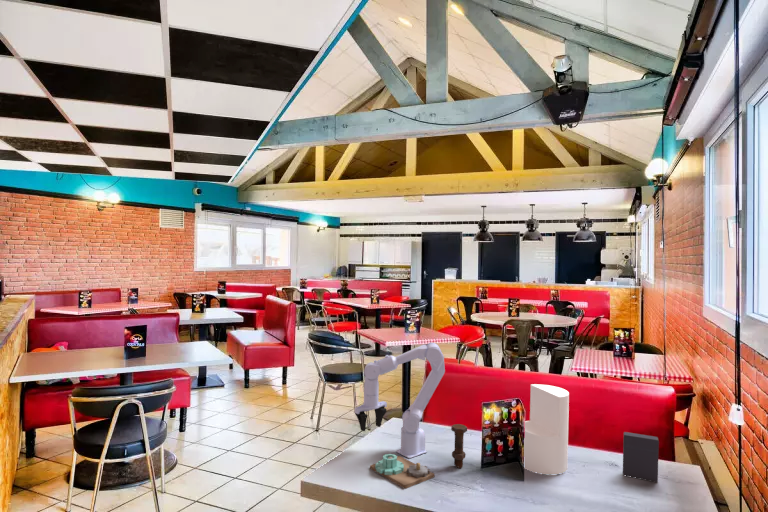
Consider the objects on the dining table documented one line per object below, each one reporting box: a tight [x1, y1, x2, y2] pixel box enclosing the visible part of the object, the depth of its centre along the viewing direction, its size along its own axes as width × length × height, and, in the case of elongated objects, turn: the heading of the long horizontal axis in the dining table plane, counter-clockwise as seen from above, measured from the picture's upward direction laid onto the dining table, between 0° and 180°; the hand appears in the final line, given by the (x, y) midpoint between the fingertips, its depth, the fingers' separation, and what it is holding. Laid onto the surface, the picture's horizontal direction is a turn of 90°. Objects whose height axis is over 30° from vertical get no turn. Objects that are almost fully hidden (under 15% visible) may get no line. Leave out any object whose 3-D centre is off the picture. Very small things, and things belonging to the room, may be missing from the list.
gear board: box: [369, 455, 436, 490], centre depth 173 cm, size 14×19×5 cm
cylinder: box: [524, 383, 570, 475], centre depth 182 cm, size 17×17×28 cm
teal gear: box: [375, 453, 404, 475], centre depth 174 cm, size 10×10×4 cm
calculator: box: [622, 431, 660, 483], centre depth 173 cm, size 11×4×15 cm, turn 65°
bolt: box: [450, 423, 468, 469], centre depth 179 cm, size 6×5×15 cm
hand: (370, 428), depth 191 cm, fingers open, 7 cm apart
